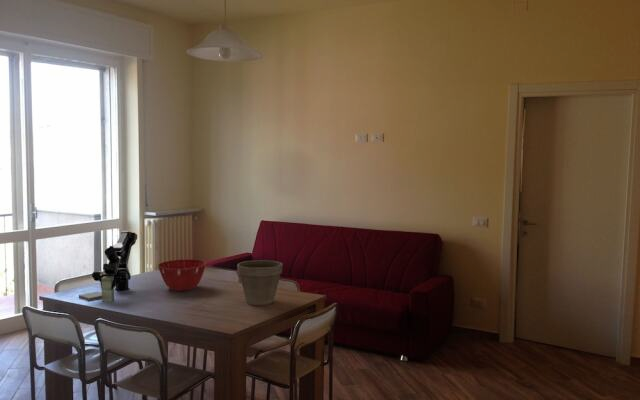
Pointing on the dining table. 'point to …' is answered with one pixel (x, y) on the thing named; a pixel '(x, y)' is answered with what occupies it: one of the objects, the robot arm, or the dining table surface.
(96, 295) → the base board
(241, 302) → the dining table surface
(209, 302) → the dining table surface
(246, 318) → the dining table surface
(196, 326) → the dining table surface
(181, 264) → the mixing bowl
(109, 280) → the green post
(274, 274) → the plant pot
